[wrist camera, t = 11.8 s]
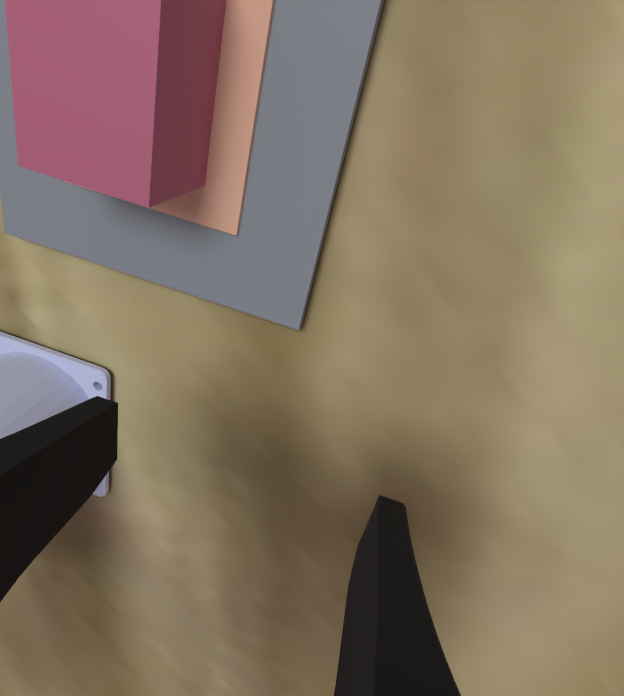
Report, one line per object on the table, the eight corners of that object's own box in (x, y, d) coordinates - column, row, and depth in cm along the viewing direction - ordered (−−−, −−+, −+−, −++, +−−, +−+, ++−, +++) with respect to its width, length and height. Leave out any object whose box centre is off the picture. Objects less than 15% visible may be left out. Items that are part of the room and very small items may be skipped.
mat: (302, 324, 21) (297, 332, 20) (15, 229, 22) (1, 234, 21) (433, -196, 13) (432, -213, 12) (-34, -298, 14) (-59, -317, 13)
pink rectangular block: (229, -26, 15) (164, -61, 11) (204, 185, 18) (148, 207, 15) (97, -61, 15) (-3, -105, 12) (96, 152, 19) (18, 166, 15)
